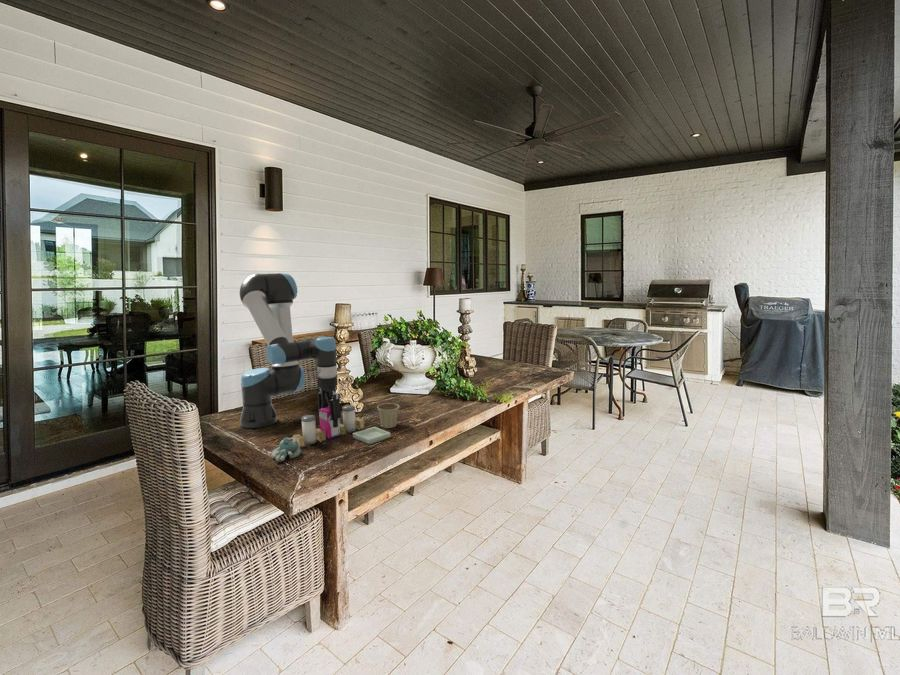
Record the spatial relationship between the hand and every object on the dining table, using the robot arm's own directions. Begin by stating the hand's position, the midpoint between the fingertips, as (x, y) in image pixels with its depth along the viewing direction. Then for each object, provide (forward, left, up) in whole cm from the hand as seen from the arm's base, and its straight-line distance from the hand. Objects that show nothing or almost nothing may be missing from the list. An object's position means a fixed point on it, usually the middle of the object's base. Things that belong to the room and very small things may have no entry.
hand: (330, 432), depth 184 cm
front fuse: (0, -9, -2) cm, 9 cm away
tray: (+13, +11, -1) cm, 17 cm away
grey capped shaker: (0, +9, -2) cm, 9 cm away
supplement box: (0, 0, -2) cm, 2 cm away
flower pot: (+8, +24, -2) cm, 25 cm away
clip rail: (-2, 0, -1) cm, 2 cm away
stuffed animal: (+6, -22, -2) cm, 23 cm away
